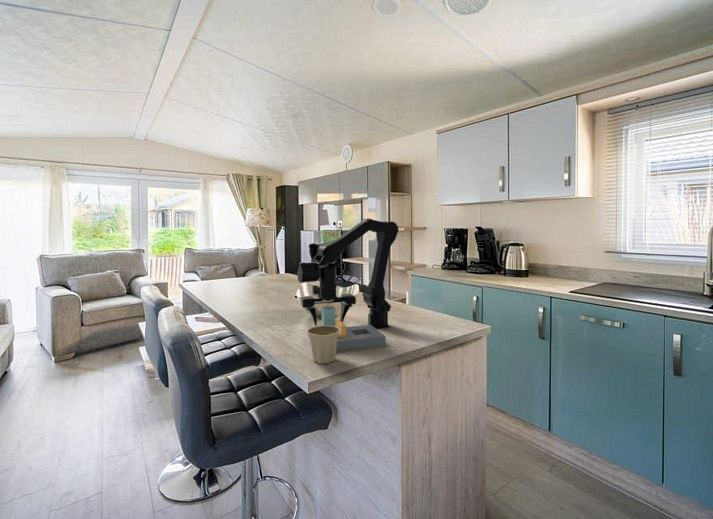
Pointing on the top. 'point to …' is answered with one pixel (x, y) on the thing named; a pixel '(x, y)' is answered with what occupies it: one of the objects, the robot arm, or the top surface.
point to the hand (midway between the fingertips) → (328, 324)
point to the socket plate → (360, 338)
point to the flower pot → (323, 343)
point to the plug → (328, 316)
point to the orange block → (341, 328)
